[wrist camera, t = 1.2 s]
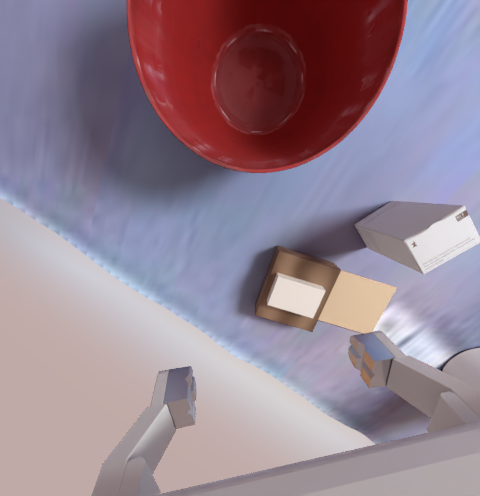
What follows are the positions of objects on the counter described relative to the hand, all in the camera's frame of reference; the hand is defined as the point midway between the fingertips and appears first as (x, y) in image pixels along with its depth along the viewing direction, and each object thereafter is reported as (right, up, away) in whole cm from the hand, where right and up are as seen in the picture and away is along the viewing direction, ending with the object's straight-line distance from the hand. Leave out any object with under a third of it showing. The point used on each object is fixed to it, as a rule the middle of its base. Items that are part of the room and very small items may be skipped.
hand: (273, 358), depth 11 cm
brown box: (+9, -2, +36) cm, 37 cm away
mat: (+22, -6, +36) cm, 43 cm away
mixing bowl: (+2, +32, +26) cm, 42 cm away
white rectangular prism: (+9, -3, +32) cm, 33 cm away
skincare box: (+25, +10, +32) cm, 42 cm away
